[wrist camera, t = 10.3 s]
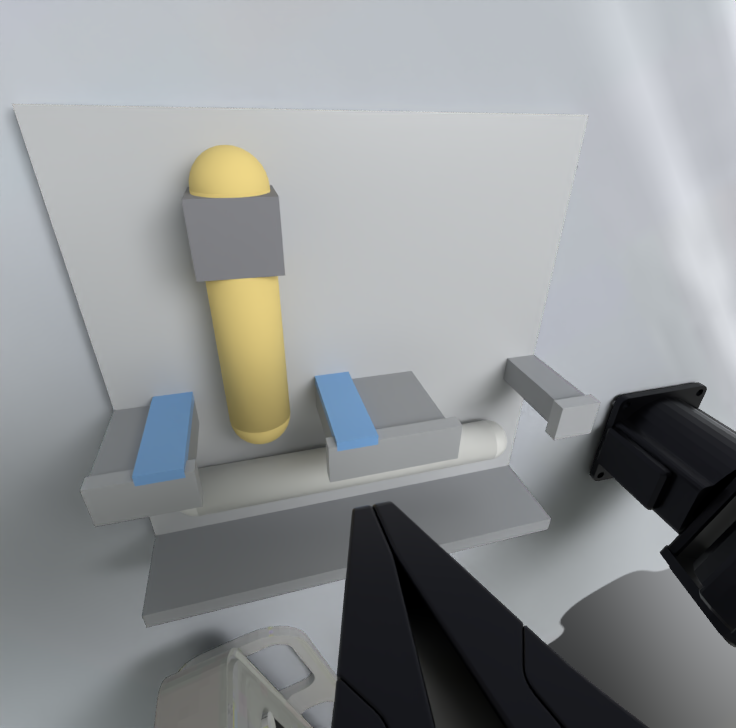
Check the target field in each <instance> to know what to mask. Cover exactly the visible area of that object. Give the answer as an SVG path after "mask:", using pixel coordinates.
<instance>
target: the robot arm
mask: <svg viewBox="0 0 736 728" xmlns="http://www.w3.org/2000/svg"><path fill="white" fill-rule="evenodd" d="M706 390H707V388H706V386H704V385H702V384H701V383H691V384H685V385H679V386H673V387H667V388H661V389H655V390H649V391H643V392H637V393H631V394H625V395H622V396H620V397H619V398H618V399H617V400H616V401H615V403H614V406H613V409H612V411H611V414H610V417H609V420H608V423H607V426H606V428H605V431H604V434H603V437H602V440H601V443H600V445H599V448H598V451H597V454H596V457H595V459H594V462H593V465H592V468H591V471H590V476H591V477H592V478H593V479H594V480H595V481H600V480H605V479H609V478H614V479H616V480H617V481H618V482H619V483H620V484H621V485H622V486H623V487H624V488H625V489H626V490H627V491H628V492H629V493H630V494H631V495H632V496H634V497H635V498H636V499H637V500H638V501H639V502H640V503H641V504H642V505H643V506H644V507H645V508H646V509H648V510H653V511H654V512H656V513H657V514H658V515H659V516H660V517H661V518H662V519H663V520H664V521H665V522H666V523H667V524H668V525H669V526H671V527H672V528H673V529H674V530H675V531H676V532H677V533H678V534H679V535H678V536H677V537H676V538H675V540H674V541H673V542H672V543H671V544H670V545H669V546H668V545H666V546H665V547H664V548H663V549H662V550H661V551H660V554H661V555H662V556H663V558H664V559H665V560H666V562H667V563H668V564H669V567H670V569H671V570H672V572H673V573H674V574H675V575H676V577H677V578H678V579H679V581H680V582H681V583H682V585H683V586H684V587H685V589H686V590H687V591H688V593H689V594H690V595H691V597H692V598H693V599H694V601H695V602H696V603H697V605H698V606H699V607H700V609H701V610H702V611H703V613H704V614H705V615H706V617H707V618H708V619H709V620H710V622H711V623H712V624H713V626H714V627H715V628H716V630H717V631H718V632H719V633H720V634H721V635H722V636H723V638H724V639H725V640H726V641H727V642H728V643H729V644H730V645H732V646H733V647H736V432H735V431H734V430H732V429H730V428H729V427H727V426H726V425H724V424H723V423H721V422H719V421H718V420H716V419H715V418H713V417H711V416H710V415H708V414H707V413H705V412H703V411H702V410H700V409H699V408H698V407H699V405H700V403H701V401H702V399H703V397H704V395H705V393H706ZM331 728H648V727H647V726H646V725H645V724H643V723H642V722H641V721H640V720H638V719H637V718H636V717H635V716H633V715H632V714H631V713H629V712H628V711H627V710H625V709H624V708H623V707H622V706H620V705H619V704H618V703H616V702H615V701H614V700H613V699H611V698H610V697H609V696H607V695H606V694H605V693H604V692H602V691H601V690H600V689H599V688H597V687H596V686H595V685H594V684H592V683H591V682H590V681H589V680H587V679H586V678H585V677H584V676H582V675H581V674H580V673H579V672H578V671H576V670H575V669H574V668H573V667H571V666H570V665H569V664H568V663H567V662H566V661H564V660H563V659H562V658H561V657H560V656H559V655H558V654H557V653H556V652H554V651H553V650H552V649H551V648H550V647H549V646H548V645H547V644H545V643H544V642H543V641H542V640H541V639H540V638H539V637H538V636H537V635H536V634H535V633H534V632H532V631H531V630H530V629H529V628H528V627H527V626H523V623H522V621H520V620H519V619H518V618H517V617H516V616H515V615H514V614H513V613H512V612H511V611H510V610H509V609H508V608H506V607H505V606H504V605H503V604H502V603H501V602H500V601H499V600H498V599H497V598H496V597H495V596H493V595H492V594H491V593H490V592H489V591H488V590H487V589H486V588H485V587H484V586H483V585H482V584H481V583H479V582H478V581H477V580H476V579H475V578H474V577H473V576H472V575H471V574H470V573H469V572H468V571H467V570H465V569H464V568H463V567H462V566H461V565H460V564H459V563H458V562H457V561H456V560H455V559H454V558H452V557H451V556H450V555H449V554H448V553H447V552H446V551H445V550H444V549H443V548H442V547H441V546H440V545H438V544H437V543H436V542H435V541H434V540H433V539H432V538H431V537H430V536H429V535H428V534H427V533H426V532H424V531H423V530H422V529H421V528H420V527H419V526H418V525H417V524H416V523H415V522H414V521H413V520H411V519H410V518H409V517H408V516H407V515H406V514H405V513H404V512H403V511H402V510H401V509H400V508H399V507H397V506H396V505H395V504H394V503H393V502H391V501H386V502H381V503H376V504H374V505H373V506H370V505H365V506H360V507H355V508H353V510H352V515H351V526H350V537H349V548H348V559H347V570H346V581H345V592H344V603H343V614H342V625H341V636H340V646H339V657H338V668H337V681H336V687H335V698H334V709H333V717H332V725H331Z"/></svg>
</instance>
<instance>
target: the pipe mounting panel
mask: <svg viewBox="0 0 736 728" xmlns="http://www.w3.org/2000/svg"><path fill="white" fill-rule="evenodd" d="M12 106H13V109H14V112H15V115H16V118H17V121H18V124H19V127H20V130H21V133H22V136H23V139H24V142H25V145H26V148H27V151H28V154H29V157H30V160H31V163H32V166H33V169H34V172H35V175H36V178H37V181H38V184H39V187H40V190H41V193H42V196H43V199H44V202H45V205H46V208H47V211H48V214H49V217H50V220H51V223H52V226H53V229H54V232H55V235H56V238H57V241H58V244H59V247H60V250H61V253H62V256H63V259H64V262H65V265H66V268H67V271H68V274H69V277H70V280H71V283H72V286H73V289H74V292H75V295H76V298H77V301H78V304H79V307H80V310H81V313H82V316H83V319H84V322H85V325H86V328H87V331H88V334H89V337H90V340H91V343H92V346H93V349H94V352H95V355H96V358H97V361H98V364H99V367H100V370H101V373H102V376H103V379H104V382H105V385H106V388H107V391H108V394H109V397H110V400H111V403H112V406H113V409H114V411H113V414H112V417H111V419H110V422H109V425H108V427H107V430H106V433H105V435H104V438H103V441H102V443H101V446H100V448H99V451H98V454H97V456H96V459H95V462H94V464H93V467H92V470H91V472H90V475H89V477H85V478H84V481H83V484H82V486H81V489H80V493H81V495H82V498H83V500H84V502H85V505H86V507H87V509H88V512H89V514H90V516H91V519H92V521H93V523H94V526H95V527H98V526H103V525H108V524H113V523H119V522H124V521H129V520H135V519H140V518H145V517H149V518H150V521H151V524H152V527H153V530H154V533H155V541H154V547H153V553H152V559H151V565H150V571H149V577H148V583H147V589H146V595H145V601H144V607H143V613H142V618H143V620H144V622H145V625H146V627H151V626H156V625H160V624H164V623H168V622H172V621H176V620H180V619H184V618H188V617H192V616H196V615H200V614H204V613H209V612H213V611H217V610H221V609H225V608H229V607H233V606H237V605H241V604H245V603H249V602H253V601H257V600H262V599H266V598H270V597H274V596H278V595H282V594H286V593H290V592H294V591H298V590H302V589H306V588H310V587H315V586H319V585H323V584H327V583H331V582H335V581H339V580H343V579H346V570H347V559H348V548H349V537H350V526H351V515H352V510H353V508H355V507H360V506H365V505H370V506H373V505H374V504H376V503H381V502H386V501H391V502H393V503H394V504H395V505H396V506H397V507H399V508H400V509H401V510H402V511H403V512H404V513H405V514H406V515H407V516H408V517H409V518H410V519H411V520H413V521H414V522H415V523H416V524H417V525H418V526H419V527H420V528H421V529H422V530H423V531H424V532H426V533H427V534H428V535H429V536H430V537H431V538H432V539H433V540H434V541H435V542H436V543H437V544H438V545H440V546H441V547H442V548H443V549H444V550H445V551H446V552H447V553H448V554H449V553H453V552H457V551H461V550H465V549H469V548H474V547H478V546H482V545H486V544H490V543H494V542H498V541H502V540H506V539H510V538H514V537H518V536H523V535H527V534H531V533H535V532H539V531H543V530H547V529H548V527H549V524H550V521H551V518H550V516H549V515H548V514H547V513H546V511H545V510H544V509H543V508H542V506H541V505H540V504H539V503H538V501H537V500H536V499H535V498H534V496H533V495H532V494H531V493H530V491H529V490H528V489H527V488H526V486H525V485H524V484H523V483H522V481H521V480H520V479H519V478H518V476H517V475H516V474H515V473H514V471H513V470H512V469H511V468H510V466H509V461H510V457H511V453H512V448H513V444H514V440H515V435H516V431H517V426H518V422H519V418H520V413H521V409H522V405H523V400H525V401H526V402H528V403H529V404H530V405H531V406H532V407H533V408H534V409H535V410H536V411H537V412H538V413H539V414H540V415H541V416H542V417H543V418H544V419H545V420H546V421H547V422H548V424H547V427H546V432H547V433H548V434H549V435H550V436H551V437H552V438H553V439H554V440H557V439H563V438H568V437H573V436H578V435H584V434H589V433H591V430H592V427H593V424H594V421H595V418H596V415H597V412H598V409H599V406H600V403H601V402H600V401H599V400H597V399H596V398H595V397H593V396H592V395H591V394H590V395H584V394H583V393H582V392H581V391H579V390H578V389H577V388H576V387H574V386H573V385H572V384H571V383H569V382H568V381H567V380H565V379H564V378H563V377H562V376H560V375H559V374H558V373H557V372H555V371H554V370H553V369H552V368H550V367H549V366H548V365H546V364H545V363H544V362H543V361H541V360H540V359H539V358H538V357H536V356H535V355H534V352H535V348H536V344H537V339H538V335H539V330H540V326H541V322H542V317H543V313H544V309H545V304H546V300H547V295H548V291H549V287H550V282H551V278H552V274H553V269H554V265H555V261H556V256H557V252H558V247H559V243H560V239H561V234H562V230H563V226H564V221H565V217H566V212H567V208H568V204H569V199H570V195H571V191H572V186H573V182H574V178H575V173H576V169H577V164H578V160H579V156H580V151H581V147H582V143H583V138H584V134H585V129H586V125H587V121H588V116H589V115H570V114H518V113H465V112H413V111H360V110H308V109H255V108H203V107H150V106H98V105H46V104H12ZM217 145H233V146H236V147H239V148H242V149H244V150H246V151H247V152H249V153H250V154H252V155H253V156H254V157H255V158H256V159H257V160H258V161H259V162H260V163H261V165H262V166H263V168H264V170H265V171H266V174H267V177H268V179H269V185H272V186H273V188H274V189H275V191H276V193H277V194H278V196H279V204H280V217H281V229H282V241H283V253H284V266H285V275H284V276H278V281H279V293H280V304H281V315H282V326H283V337H284V348H285V359H286V370H287V381H288V392H289V403H290V420H289V424H288V426H287V428H286V430H285V431H284V433H283V434H282V435H281V436H280V437H279V438H277V439H276V440H274V441H272V442H269V443H266V444H252V443H249V442H246V441H244V440H243V439H241V438H240V437H239V436H238V435H237V434H236V433H235V431H234V430H233V428H232V426H231V423H230V419H229V413H228V407H227V402H226V396H225V390H224V385H223V379H222V373H221V367H220V362H219V356H218V350H217V345H216V339H215V333H214V328H213V322H212V316H211V311H210V305H209V299H208V294H207V288H206V282H205V281H201V282H197V281H196V276H195V271H194V265H193V260H192V255H191V249H190V244H189V239H188V233H187V228H186V222H185V217H184V212H183V206H182V201H181V199H182V197H183V195H184V193H185V191H186V189H187V187H189V173H190V170H191V167H192V165H193V163H194V161H195V160H196V158H197V157H198V156H199V155H200V154H201V153H202V152H204V151H205V150H207V149H209V148H211V147H214V146H217Z"/></svg>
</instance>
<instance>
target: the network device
mask: <svg viewBox="0 0 736 728" xmlns="http://www.w3.org/2000/svg"><path fill="white" fill-rule="evenodd" d="M279 644H285V645H289V646H291V647H292V648H293V649H294V651H295V652H296V653H297V654H298V656H299V657H300V658H301V659H302V661H303V662H304V663H305V664H306V666H307V667H308V668H309V669H310V671H311V672H312V673H311V675H310V676H308V677H307V678H306V679H304V680H302V681H300V682H297V683H295V684H293V685H291V686H289V687H287V688H284V689H282V690H280V691H278V690H277V689H276V688H275V687H274V686H273V685H272V684H271V683H270V682H269V681H268V680H267V679H266V678H265V677H264V676H263V674H262V673H261V672H260V671H259V670H258V669H257V668H256V667H255V666H254V665H253V664H252V663H251V662H250V661H249V660H248V659H247V658H246V657H247V656H249V655H251V654H254V653H256V652H258V651H260V650H263V649H265V648H267V647H270V646H273V645H279ZM336 681H337V676H336V674H335V673H334V671H333V670H332V669H331V667H330V666H329V665H328V663H327V662H326V661H325V659H324V658H323V656H322V655H321V654H320V652H319V651H318V650H317V648H316V647H315V646H314V644H313V643H312V641H311V640H310V639H309V637H308V636H307V635H306V634H305V633H304V632H303V631H301V630H299V629H297V628H294V627H289V626H274V627H267V628H263V629H258V630H256V631H253V632H250V633H248V634H245V635H243V636H241V637H239V638H236V639H234V640H232V641H230V642H227V643H225V644H223V645H221V646H218V647H216V648H214V649H212V650H209V651H207V652H205V653H203V654H201V655H199V656H197V657H195V658H193V659H192V660H190V661H189V662H187V663H186V664H185V665H184V666H183V667H182V668H181V669H180V670H179V672H178V673H175V674H173V675H171V676H169V677H167V678H166V679H165V680H164V681H163V682H162V684H161V686H160V690H159V693H158V699H157V707H156V715H155V724H154V728H313V727H312V726H311V725H310V724H309V723H308V722H307V721H306V720H305V719H304V718H303V716H302V714H303V713H304V711H306V710H307V709H309V708H311V707H313V706H315V705H318V704H320V703H323V702H334V698H335V687H336Z"/></svg>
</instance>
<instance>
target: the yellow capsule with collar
mask: <svg viewBox="0 0 736 728" xmlns="http://www.w3.org/2000/svg"><path fill="white" fill-rule="evenodd" d="M181 201H182V206H183V212H184V217H185V222H186V228H187V233H188V239H189V244H190V249H191V255H192V260H193V265H194V271H195V276H196V281H197V282H201V281H205V282H206V288H207V294H208V299H209V305H210V311H211V316H212V322H213V328H214V333H215V339H216V345H217V350H218V356H219V362H220V367H221V373H222V379H223V385H224V390H225V396H226V402H227V407H228V413H229V419H230V423H231V426H232V428H233V430H234V431H235V433H236V434H237V435H238V436H239V437H240V438H241V439H243V440H244V441H246V442H249V443H252V444H266V443H269V442H272V441H274V440H276V439H277V438H279V437H280V436H281V435H282V434H283V433H284V431H285V430H286V428H287V426H288V424H289V420H290V403H289V392H288V381H287V370H286V359H285V348H284V337H283V326H282V315H281V304H280V293H279V281H278V276H284V275H285V266H284V253H283V241H282V229H281V217H280V204H279V196H278V194H277V193H276V191H275V189H274V188H273V186H272V185H269V179H268V177H267V174H266V171H265V170H264V168H263V166H262V165H261V163H260V162H259V161H258V160H257V159H256V158H255V157H254V156H253V155H252V154H250V153H249V152H247V151H246V150H244V149H242V148H239V147H236V146H233V145H217V146H214V147H211V148H209V149H207V150H205V151H204V152H202V153H201V154H200V155H199V156H198V157H197V158H196V160H195V161H194V163H193V165H192V167H191V170H190V173H189V187H187V189H186V191H185V193H184V195H183V197H182V199H181Z"/></svg>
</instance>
